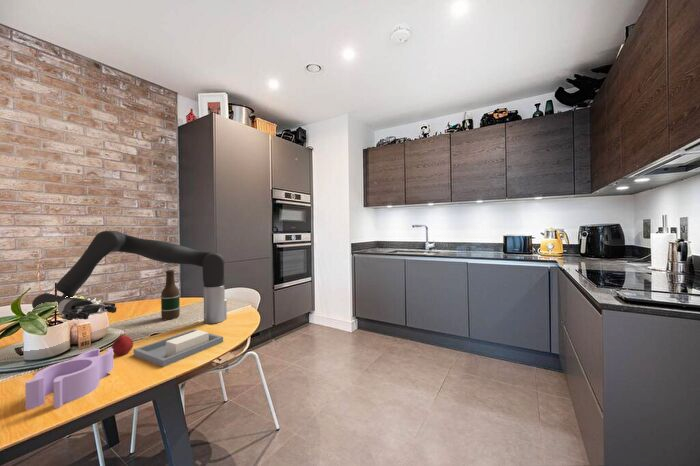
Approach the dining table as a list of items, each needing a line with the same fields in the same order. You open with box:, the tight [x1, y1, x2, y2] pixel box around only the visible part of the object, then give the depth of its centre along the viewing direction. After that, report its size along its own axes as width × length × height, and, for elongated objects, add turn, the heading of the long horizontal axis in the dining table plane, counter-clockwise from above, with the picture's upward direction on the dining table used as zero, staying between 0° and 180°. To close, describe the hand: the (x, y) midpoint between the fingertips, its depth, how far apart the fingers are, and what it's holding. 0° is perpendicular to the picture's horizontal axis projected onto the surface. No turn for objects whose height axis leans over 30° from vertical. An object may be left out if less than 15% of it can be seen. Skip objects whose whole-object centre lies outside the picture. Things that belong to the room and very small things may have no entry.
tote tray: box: [132, 328, 224, 368], centre depth 103 cm, size 22×18×3 cm
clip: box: [24, 347, 114, 411], centre depth 80 cm, size 20×12×7 cm, turn 4°
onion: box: [111, 332, 134, 356], centre depth 99 cm, size 6×6×8 cm
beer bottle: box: [160, 269, 181, 321], centre depth 141 cm, size 8×8×24 cm
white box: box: [166, 329, 210, 357], centre depth 101 cm, size 12×6×5 cm, turn 152°
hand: (101, 313), depth 102 cm, fingers open, 8 cm apart
